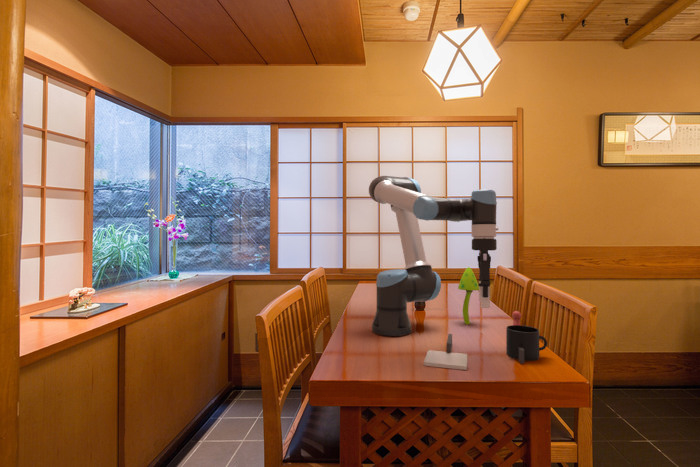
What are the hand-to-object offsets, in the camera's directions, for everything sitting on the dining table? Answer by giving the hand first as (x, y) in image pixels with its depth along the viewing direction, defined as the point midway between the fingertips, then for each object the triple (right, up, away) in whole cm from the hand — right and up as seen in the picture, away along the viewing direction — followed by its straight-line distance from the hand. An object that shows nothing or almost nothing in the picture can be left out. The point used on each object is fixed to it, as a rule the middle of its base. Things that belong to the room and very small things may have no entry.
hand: (484, 304), depth 120 cm
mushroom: (+6, -16, +35) cm, 39 cm away
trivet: (-14, -16, -7) cm, 22 cm away
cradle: (+1, -16, +1) cm, 16 cm away
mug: (+13, -17, -2) cm, 21 cm away
